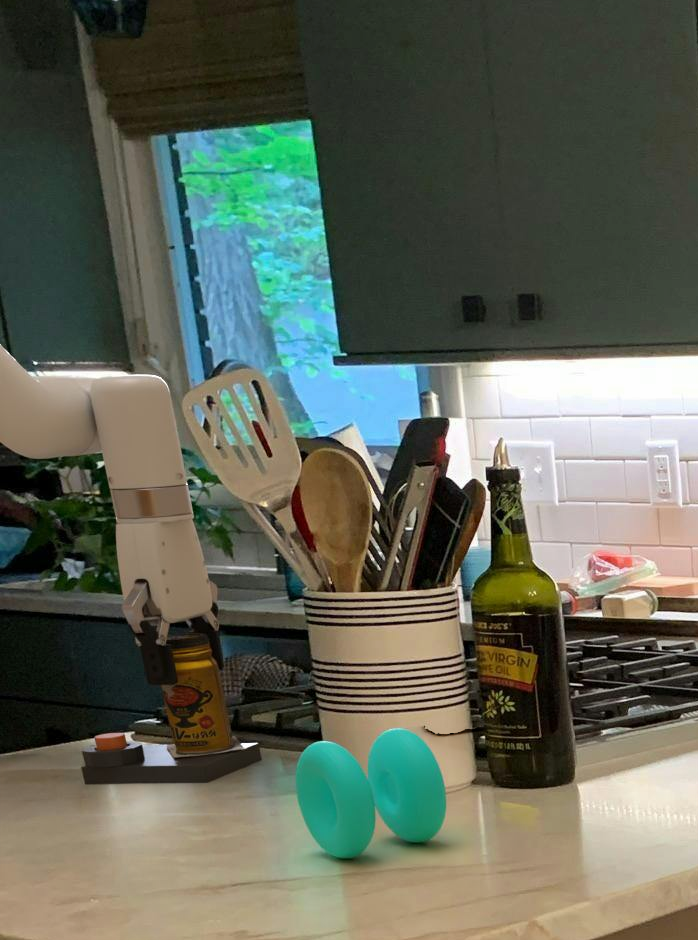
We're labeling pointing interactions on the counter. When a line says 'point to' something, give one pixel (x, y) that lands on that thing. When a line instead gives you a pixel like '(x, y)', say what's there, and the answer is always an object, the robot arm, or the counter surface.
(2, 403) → the robot arm
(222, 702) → the condiment
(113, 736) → the button
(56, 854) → the counter surface
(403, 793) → the donuts
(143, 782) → the scale
